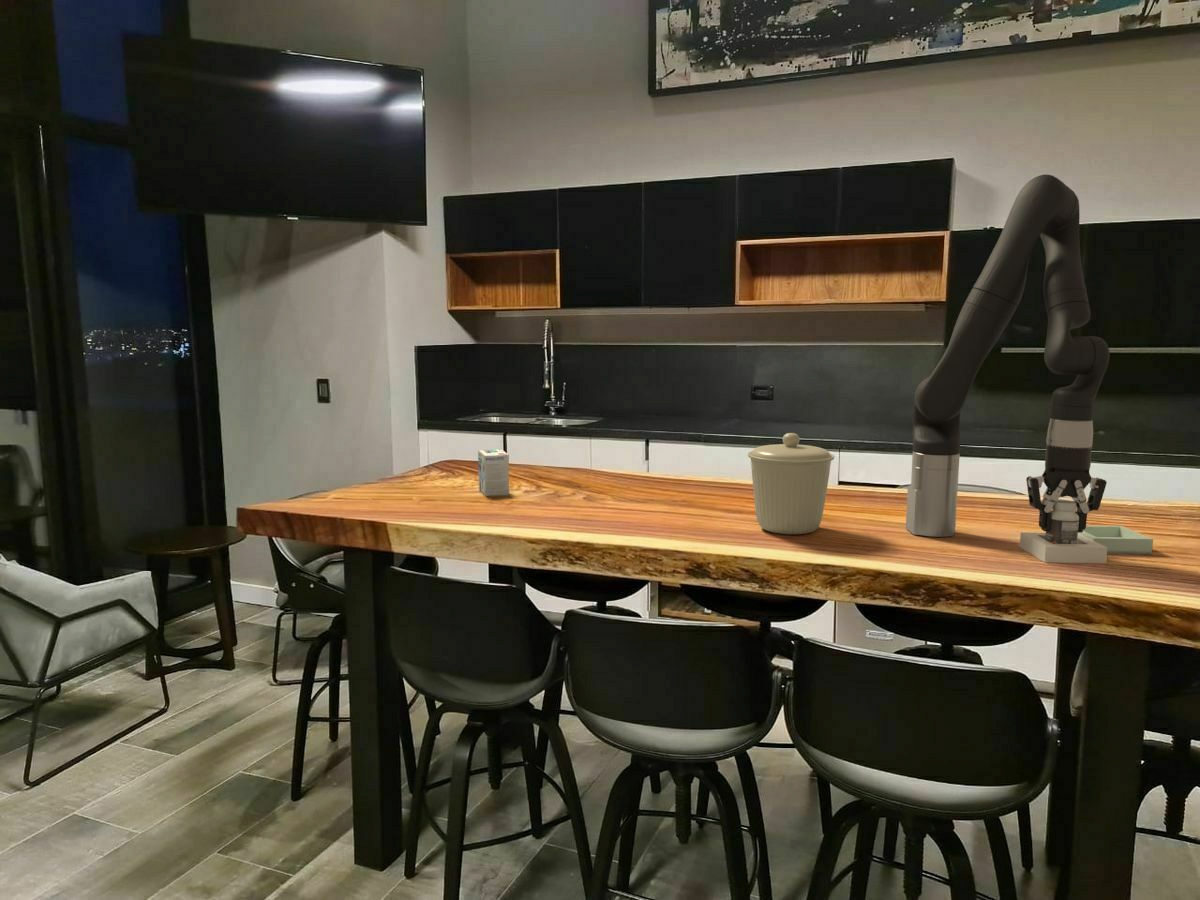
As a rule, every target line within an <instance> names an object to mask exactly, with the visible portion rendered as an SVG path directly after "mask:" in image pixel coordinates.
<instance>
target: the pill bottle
mask: <svg viewBox="0 0 1200 900" xmlns="http://www.w3.org/2000/svg"><path fill="white" fill-rule="evenodd" d="M1075 511H1077V509H1076V502H1074V501H1073V500H1071V499H1070V500H1069V499H1061V498H1059V499H1058V501H1057V502H1056V503H1054V505H1053V507H1052V509H1051V511H1050V513H1051V524H1050V531H1049V532H1045V533H1046V535H1045V540H1047V541H1048V542H1050V543H1052V544H1077V537H1078V526H1079V516H1078V514H1076V513H1075Z"/></svg>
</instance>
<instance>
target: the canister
mask: <svg viewBox="0 0 1200 900" xmlns="http://www.w3.org/2000/svg"><path fill="white" fill-rule="evenodd" d="M799 443H800V436H799V435H798V434H797V433H794V432H788V433H785V434H784V435H783V437H782V443H781V444H780V443H779V444H765V445H760V446H757V447H755V448H754V449H753V450H751V451H749V452H747V457H748V458H749V459H750V464H751V465H750V466H751V467H750V468H751V478H752V490H753V499H754V500H753V501H754V511H755V517H756V522H757V524H758V525H759V526H760V528H762V529H763V530H764V531H768V532H770V533H774V534H783V535H803V534H805V535H806V534H810V533H812V532H815V531H816V530H818V528H819V527H820V525H821V524H822V523H821V522H822V521H823V515H824V514H823V513H824V510H825V504H826V498H827V491H828V484H829V479H830V478H829V477H830V471H831V465H832V464H831V463H832V461H833V460H835V455H834V454H832V453H830V452H829V450H827V449H825V448H822V447H819V446H814V445H807V444H799Z"/></svg>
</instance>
